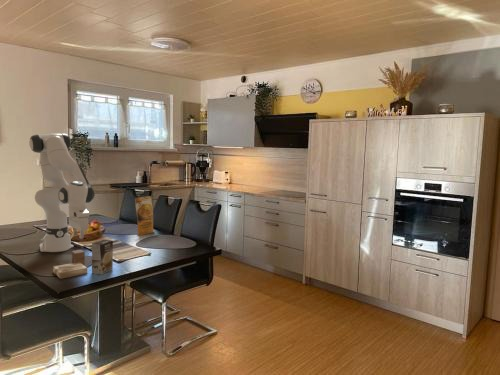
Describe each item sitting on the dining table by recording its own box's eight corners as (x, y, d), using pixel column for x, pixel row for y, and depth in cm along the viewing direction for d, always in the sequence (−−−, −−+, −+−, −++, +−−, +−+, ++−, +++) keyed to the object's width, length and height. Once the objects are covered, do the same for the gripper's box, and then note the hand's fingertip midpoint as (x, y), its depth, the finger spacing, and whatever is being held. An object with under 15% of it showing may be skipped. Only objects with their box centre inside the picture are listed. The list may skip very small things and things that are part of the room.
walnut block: (72, 265, 205) (71, 251, 204) (81, 263, 208) (81, 249, 207) (75, 267, 201) (75, 253, 200) (84, 265, 204) (84, 251, 204)
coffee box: (101, 274, 192) (101, 244, 191) (91, 273, 194) (91, 243, 192) (113, 269, 201) (113, 240, 199) (103, 267, 203) (103, 239, 201)
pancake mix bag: (131, 235, 274) (131, 197, 271) (150, 230, 291) (150, 194, 287) (138, 236, 271) (138, 198, 268) (156, 231, 287) (157, 195, 284)
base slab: (53, 271, 193) (53, 266, 193) (79, 267, 202) (79, 261, 202) (60, 278, 185) (60, 272, 184) (87, 273, 193) (87, 267, 193)
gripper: (65, 209, 206) (66, 233, 208) (78, 215, 191) (78, 241, 193) (77, 208, 211) (77, 232, 212) (90, 213, 196) (91, 239, 197)
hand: (78, 236), depth 202 cm, fingers open, 8 cm apart
